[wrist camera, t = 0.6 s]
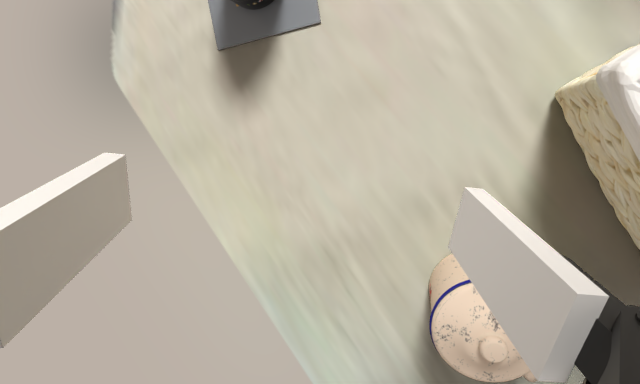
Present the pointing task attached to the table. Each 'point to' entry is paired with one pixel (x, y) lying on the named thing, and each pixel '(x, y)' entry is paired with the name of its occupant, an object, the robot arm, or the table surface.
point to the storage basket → (610, 130)
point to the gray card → (259, 20)
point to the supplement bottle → (253, 3)
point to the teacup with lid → (470, 329)
